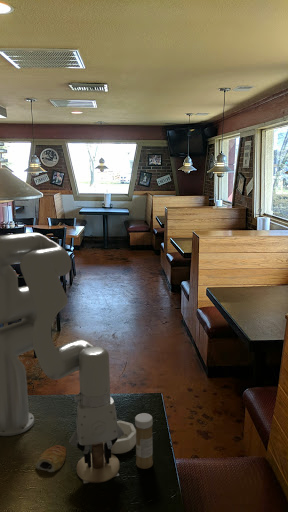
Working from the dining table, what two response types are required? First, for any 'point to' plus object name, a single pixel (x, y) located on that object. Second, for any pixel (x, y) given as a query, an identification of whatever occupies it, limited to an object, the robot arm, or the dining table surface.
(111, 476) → the lid
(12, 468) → the dining table surface
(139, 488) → the dining table surface
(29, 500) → the dining table surface
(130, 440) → the bowl
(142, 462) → the sprinkles bottle
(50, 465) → the pastry
